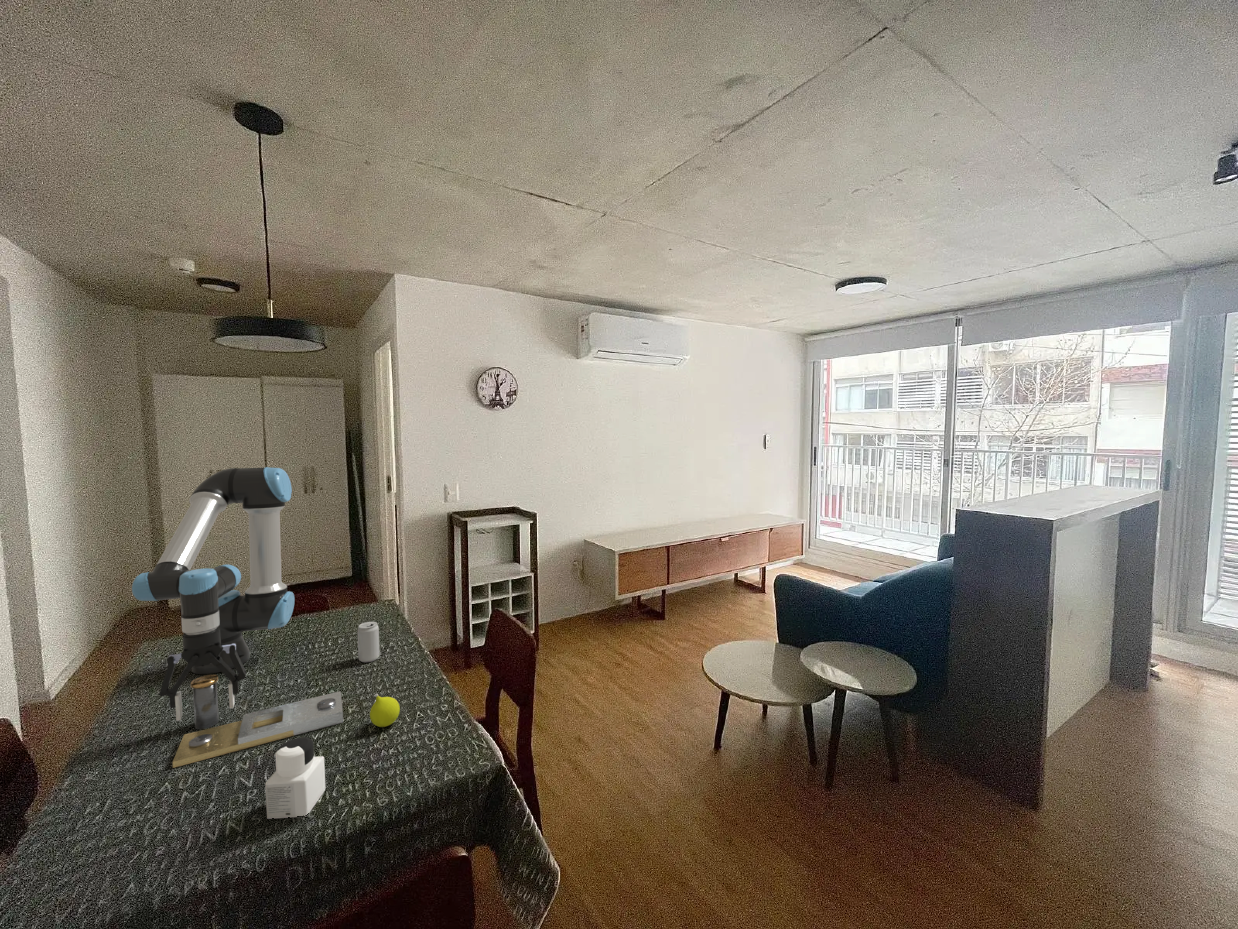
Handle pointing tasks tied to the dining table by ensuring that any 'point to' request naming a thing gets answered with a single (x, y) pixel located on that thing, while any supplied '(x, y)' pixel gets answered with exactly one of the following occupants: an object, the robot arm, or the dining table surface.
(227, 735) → the link
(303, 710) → the link
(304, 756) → the container
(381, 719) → the lemon
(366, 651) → the beverage can
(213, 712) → the pin
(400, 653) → the dining table surface
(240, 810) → the dining table surface
